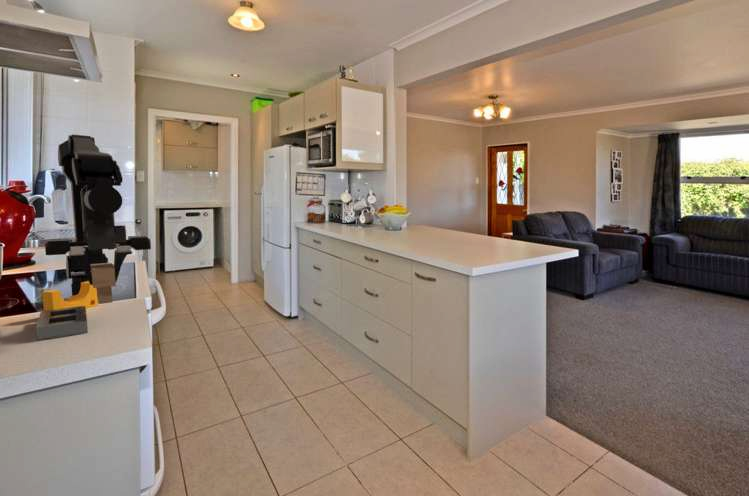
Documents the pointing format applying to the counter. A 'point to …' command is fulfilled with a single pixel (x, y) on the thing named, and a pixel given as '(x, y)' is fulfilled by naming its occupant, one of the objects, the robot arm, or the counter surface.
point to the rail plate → (62, 322)
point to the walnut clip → (103, 281)
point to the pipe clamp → (71, 298)
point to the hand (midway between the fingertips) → (103, 283)
